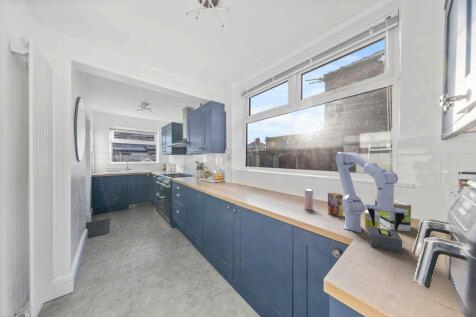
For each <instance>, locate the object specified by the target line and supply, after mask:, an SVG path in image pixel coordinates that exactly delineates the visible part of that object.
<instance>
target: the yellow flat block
mask: <svg viewBox="0 0 476 317" xmlns="http://www.w3.org/2000/svg"><path fill="white" fill-rule="evenodd" d="M380 235H385V236H389V234H388V232H387V231H385V230H380Z"/></svg>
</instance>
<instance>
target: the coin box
mask: <svg viewBox="0 0 476 317" xmlns="http://www.w3.org/2000/svg"><path fill="white" fill-rule="evenodd" d="M380 230H385V231H387V232H388V234H389V236H385V235H380ZM369 243H370V246H371V248H375V249H378V250H381V251H385V252H389V253H394V254H399V255H402V254H403V239H402V238H401V236H400V234H399V233H398V230H391V229H387V228H381V227H380V228H376V227H371V226H370V230H369Z"/></svg>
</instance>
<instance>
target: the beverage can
mask: <svg viewBox="0 0 476 317" xmlns="http://www.w3.org/2000/svg"><path fill="white" fill-rule="evenodd" d="M304 209H305V210H306V211H312V210H313V209H314V190H313V189H309V188H306V189H305V190H304Z"/></svg>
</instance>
